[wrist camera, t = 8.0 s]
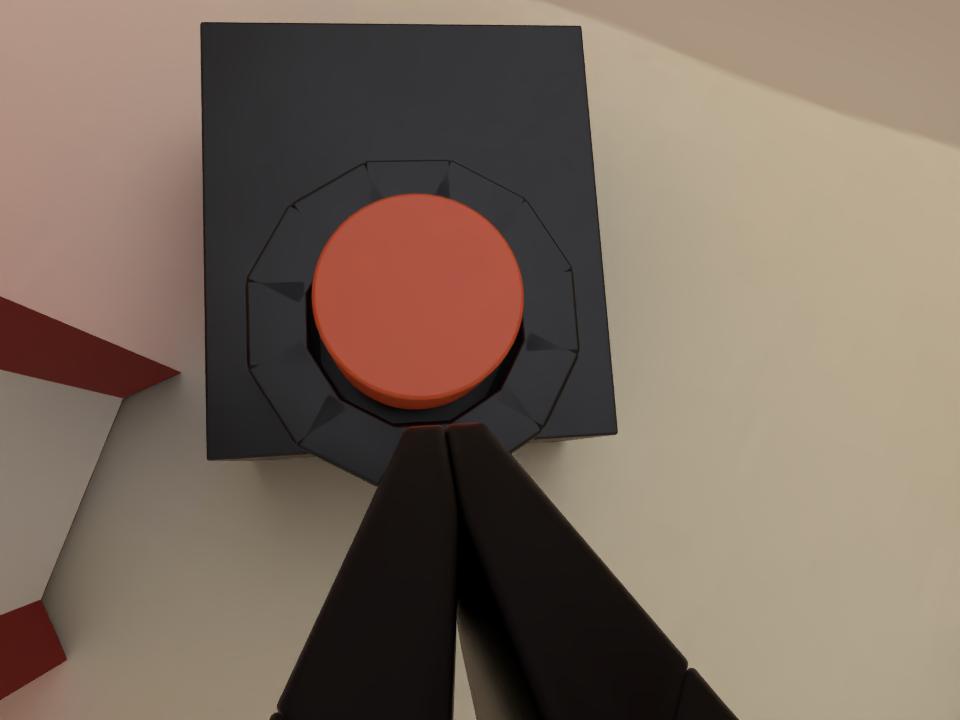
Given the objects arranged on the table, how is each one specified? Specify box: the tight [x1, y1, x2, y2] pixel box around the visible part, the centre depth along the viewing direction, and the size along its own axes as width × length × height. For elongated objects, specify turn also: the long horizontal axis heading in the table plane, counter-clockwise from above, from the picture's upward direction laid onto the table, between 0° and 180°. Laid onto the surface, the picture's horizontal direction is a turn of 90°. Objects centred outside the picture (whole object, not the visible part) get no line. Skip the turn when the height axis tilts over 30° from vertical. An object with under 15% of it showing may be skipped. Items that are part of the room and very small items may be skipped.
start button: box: [312, 193, 524, 410], centre depth 13 cm, size 4×4×2 cm
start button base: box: [200, 22, 618, 486], centre depth 18 cm, size 11×9×7 cm
